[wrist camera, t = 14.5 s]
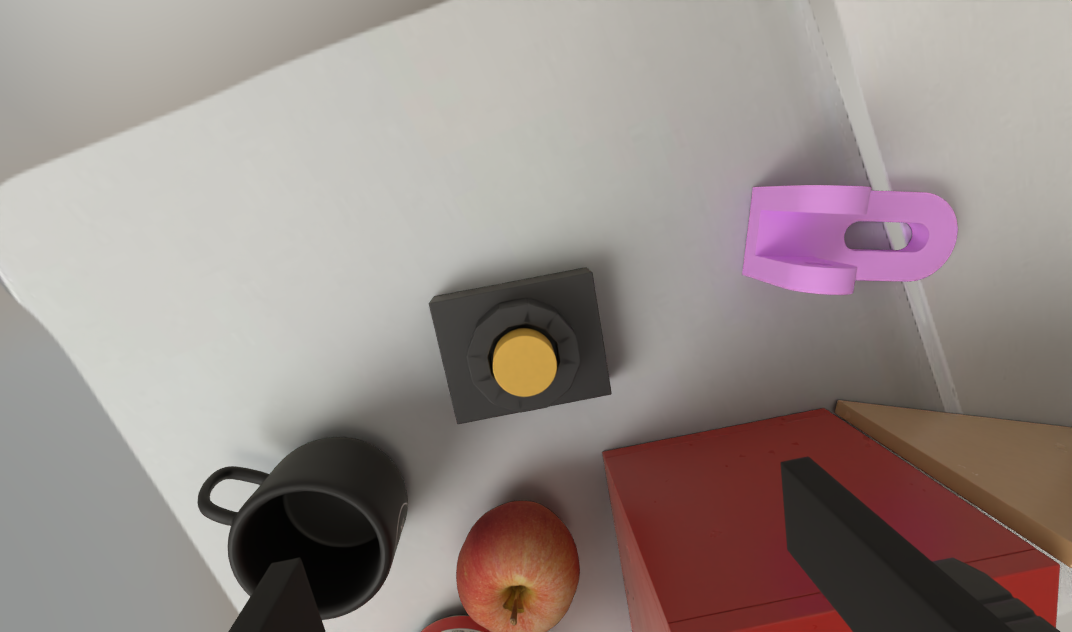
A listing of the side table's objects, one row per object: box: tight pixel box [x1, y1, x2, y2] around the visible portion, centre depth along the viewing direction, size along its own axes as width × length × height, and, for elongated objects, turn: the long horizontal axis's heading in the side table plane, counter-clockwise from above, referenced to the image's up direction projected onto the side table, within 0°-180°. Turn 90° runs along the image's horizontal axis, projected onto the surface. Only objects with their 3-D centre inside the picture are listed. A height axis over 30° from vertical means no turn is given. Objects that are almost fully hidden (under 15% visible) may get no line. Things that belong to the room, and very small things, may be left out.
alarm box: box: [429, 268, 611, 424], centre depth 32 cm, size 10×8×4 cm
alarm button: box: [493, 328, 557, 397], centre depth 30 cm, size 4×4×2 cm
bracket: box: [742, 185, 958, 295], centre depth 30 cm, size 13×6×7 cm, turn 88°
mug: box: [198, 437, 408, 620], centre depth 32 cm, size 12×9×7 cm
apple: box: [456, 501, 580, 632], centre depth 33 cm, size 8×8×8 cm
